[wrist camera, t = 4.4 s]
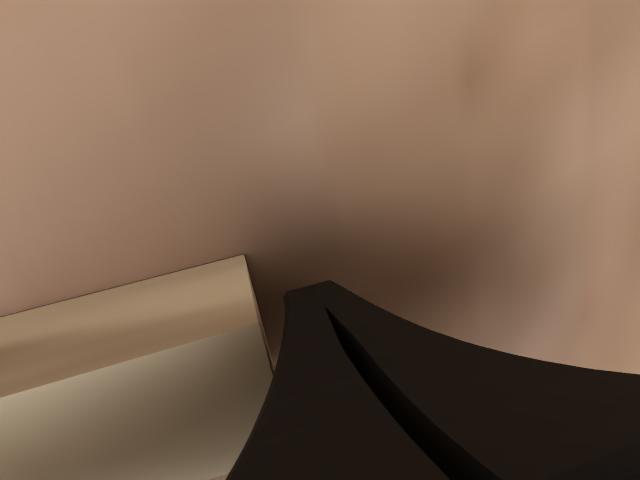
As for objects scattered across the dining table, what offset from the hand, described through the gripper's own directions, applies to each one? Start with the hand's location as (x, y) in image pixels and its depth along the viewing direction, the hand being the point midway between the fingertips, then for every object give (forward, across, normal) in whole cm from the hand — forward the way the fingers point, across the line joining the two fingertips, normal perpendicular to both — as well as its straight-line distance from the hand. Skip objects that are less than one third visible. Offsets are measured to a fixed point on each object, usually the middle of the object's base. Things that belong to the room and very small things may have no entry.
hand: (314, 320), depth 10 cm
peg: (+1, +6, 0) cm, 6 cm away
